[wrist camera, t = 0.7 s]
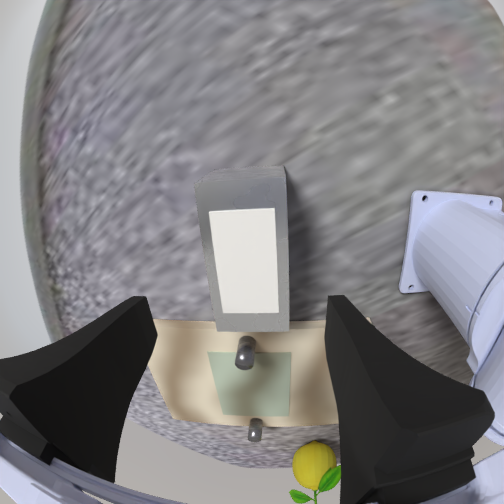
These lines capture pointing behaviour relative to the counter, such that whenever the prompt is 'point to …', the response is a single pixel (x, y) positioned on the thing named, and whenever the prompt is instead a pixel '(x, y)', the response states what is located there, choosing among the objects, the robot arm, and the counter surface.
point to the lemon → (314, 470)
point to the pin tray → (244, 375)
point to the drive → (246, 247)
